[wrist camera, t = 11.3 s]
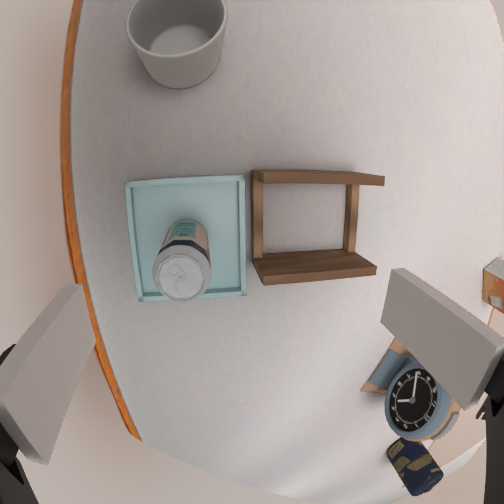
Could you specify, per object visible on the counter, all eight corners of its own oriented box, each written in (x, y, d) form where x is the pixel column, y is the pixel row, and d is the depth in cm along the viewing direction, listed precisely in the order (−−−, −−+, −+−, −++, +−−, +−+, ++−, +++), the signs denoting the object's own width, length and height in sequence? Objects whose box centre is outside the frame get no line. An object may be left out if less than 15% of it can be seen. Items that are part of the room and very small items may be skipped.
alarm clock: (398, 330, 44) (463, 393, 28) (430, 338, 47) (488, 392, 30) (357, 394, 48) (401, 464, 31) (391, 396, 50) (435, 456, 33)
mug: (232, 69, 29) (246, 32, 19) (164, 102, 29) (147, 76, 19) (189, -3, 25) (187, -53, 15) (124, 27, 25) (99, -15, 15)
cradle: (251, 169, 33) (263, 172, 26) (354, 172, 35) (384, 176, 28) (252, 262, 36) (263, 285, 30) (348, 255, 38) (375, 275, 32)
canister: (378, 457, 59) (406, 504, 42) (398, 434, 57) (431, 483, 40) (402, 452, 61) (429, 495, 44) (421, 430, 59) (453, 473, 42)
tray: (128, 181, 31) (124, 182, 29) (242, 174, 33) (244, 175, 31) (141, 295, 35) (138, 301, 34) (244, 289, 37) (246, 295, 36)
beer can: (182, 266, 34) (175, 317, 23) (158, 233, 33) (137, 271, 22) (216, 243, 34) (224, 285, 23) (192, 209, 33) (187, 236, 21)
